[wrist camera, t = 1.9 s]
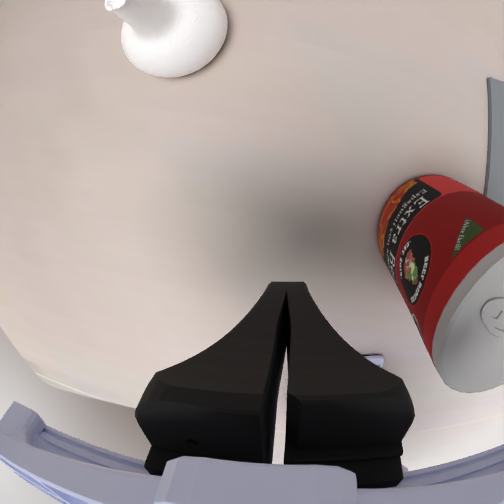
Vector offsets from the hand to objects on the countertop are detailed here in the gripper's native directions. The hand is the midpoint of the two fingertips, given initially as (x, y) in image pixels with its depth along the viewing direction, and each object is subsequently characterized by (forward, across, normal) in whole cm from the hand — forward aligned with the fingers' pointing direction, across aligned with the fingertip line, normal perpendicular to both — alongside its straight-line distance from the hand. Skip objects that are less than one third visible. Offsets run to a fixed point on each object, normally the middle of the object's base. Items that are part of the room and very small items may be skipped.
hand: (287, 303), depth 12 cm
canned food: (+9, -10, 0) cm, 13 cm away
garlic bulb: (+9, +6, -13) cm, 17 cm away
